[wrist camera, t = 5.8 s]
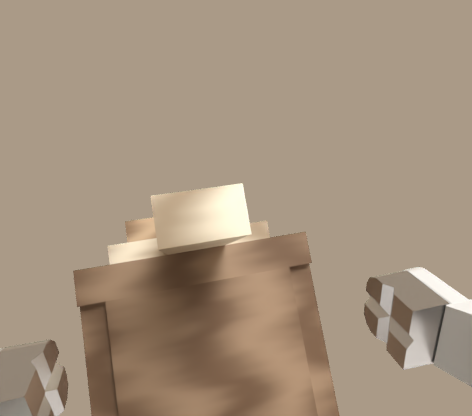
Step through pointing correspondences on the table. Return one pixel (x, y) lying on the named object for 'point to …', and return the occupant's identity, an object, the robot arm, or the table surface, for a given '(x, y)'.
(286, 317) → the walnut shelf
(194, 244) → the plywood board
